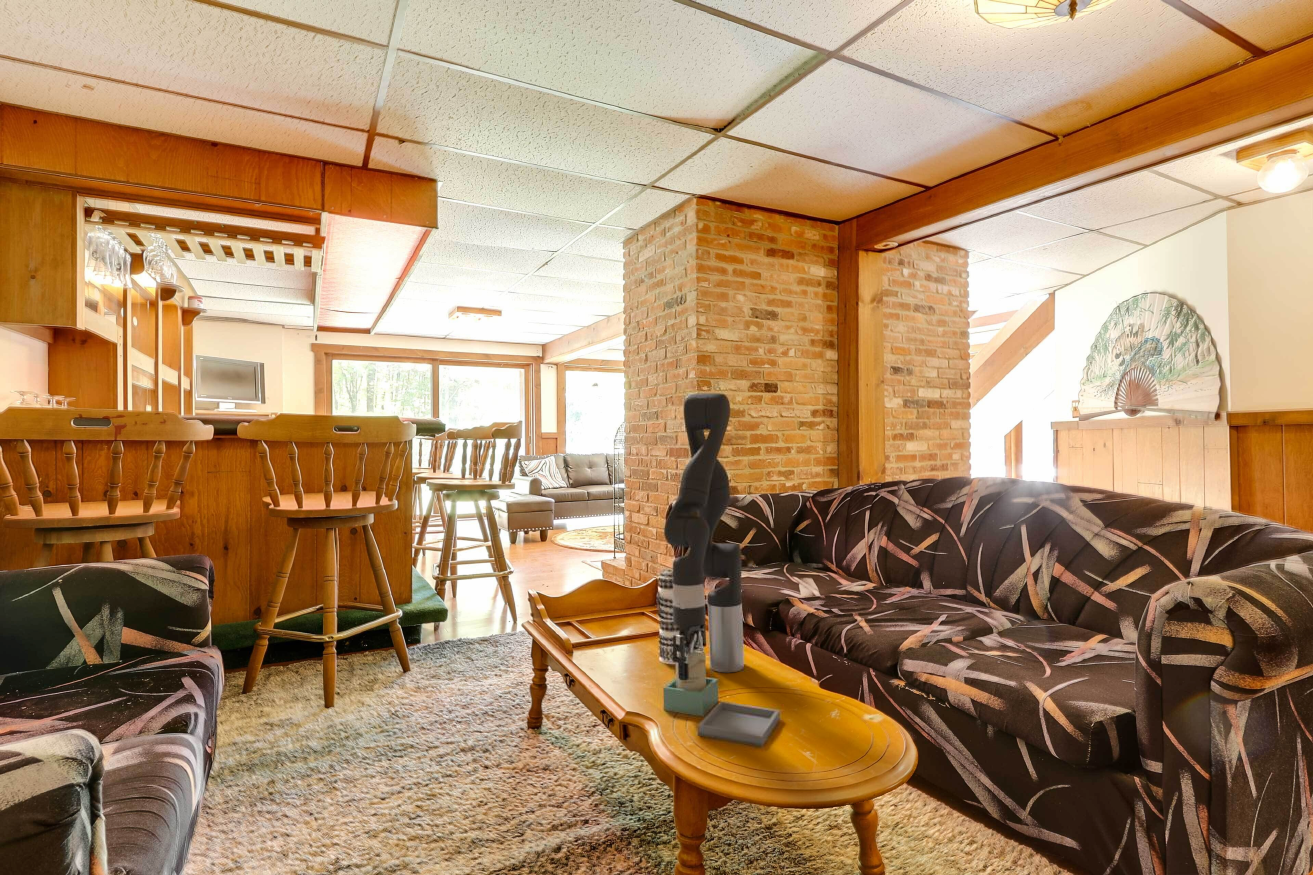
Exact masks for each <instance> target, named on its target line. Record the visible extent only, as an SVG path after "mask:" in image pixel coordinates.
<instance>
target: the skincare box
mask: <svg viewBox="0 0 1313 875" xmlns="http://www.w3.org/2000/svg"><path fill="white" fill-rule="evenodd" d="M677 654H678V652H677ZM685 655H686V654H685ZM706 667H707V665H706V653H705V652H704V650H703V651H702V650H701V649H693V651H692V654H690V655H689V660H688V669H689V679H688V680H686V681H685V680H680V679H679V675H678V663H677V662H676V664H675V678H676V688H678V689H685V690H692V691H698V692H701V691H702V690H703V689H704V688H705V687H706V677H707V672H706V671H707V668H706Z"/></svg>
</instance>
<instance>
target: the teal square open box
mask: <svg viewBox="0 0 1313 875" xmlns="http://www.w3.org/2000/svg"><path fill="white" fill-rule="evenodd" d="M662 692H663V711H668V712H675V713H680V714H686V715H691V716H692V715H693V716H698V717H704V716H706V715H707V713H709V712H710V710H711V709H713V707H715V706H716V705H717V704H718V703H719V679H718V678H714V677H707V676H706V687H705V688H704V689H703V690H702V691H701V692H698V691H692V690H685V689H678V688H676V677H675V678H673V679H671V681H669V682H668V683H667V684H666V685H665V686H664V687H663V690H662Z"/></svg>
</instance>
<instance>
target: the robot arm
mask: <svg viewBox="0 0 1313 875" xmlns="http://www.w3.org/2000/svg"><path fill="white" fill-rule="evenodd" d="M730 404H731V403H730V400H729V398H728V396H727V395H726V394H724V393H721V392H720V393H718V392H717V393H716V392H712V393H710V392H706V393H703V392H701V393H690V394H688V395H686V397H685V398H684V401H683V417H684V418H683V419H684V425H685V431H686V432H685V433H686V435H687V440H688V446H689V451H690V458H691V459H690V460H689V461H688V463H686V466H685V467H684V469H683V472H682V476H681V480H680V485H679V491H678V495H677V498H676V500H675V502H674V504H673V506H672V509H671V511H670V512H669V515H668V516H667V518H666V520H665V524H664V527H663V529H664V530H663V533H664V534H663V535H664V538H665V541H666V542H667V544H668V545H669V546H672V547H685V548H687V547H688V548H689V552H688V554H687V555H684V556H679V557H676V558H675V559H673V562H672V569H673V622H674V624H675V625H678V626H679V627H680V630H679V635H673V662H677V663H678V675H679V679H680V680H685V681H686V680H688V679H689V669H688V660H689V655H690V654H692V651H693V649H701V650H702V651H703V652H704V648H705V647H706V646H707V633H706V632H707V631H706V620H708V621H707V622H708V623H707V624H708V649H709V652H708V653H709V655H708V656H709V657H708V658H709V668H710V669H711V670H712V671H715V672H717V673H718V672H719V673H735V672H740V671H742V670H743V669H744V668H745V663H744V662H745V660H744V659H745V658H744V656H745V654H744V652H745V651H744V629H743V627H744V626H743V625H744V624H743V600H742V599H743V598H742V567H743V566H742V556H743V555H742V550H741V547H740V546H739V545H738V544H737V543H721V542H719V543H714V542H713V536H714V533H715V530H716V528H717V526H718V524H719V523H720V520H721V518H722V517H723V515H724V514H725V512H726V510H727V508H728V506H729V504H730V502H731V490H730V481H729V480H730V479H729V478H730V477H729V475H728V473H727V470H726V469H725V467H724V465H723V464H722V463H721V461H720V460H719V458H718V456H719V454H720V450H721V447H722V444H723V442H724V438H725V436H726V432H727V428H728V425H729V422H730V417H731V406H730ZM707 430H708V432H709V433H708V434H707V437H706V435H705V431H707ZM694 512H697V516H691V514H692V513H694ZM704 577H706V578H713V579H728V581H727V583H726V584H725V585H723V586H720V587H718V588H715V589H713V590H710V591H709V592H708V593H707V616H708V617H707V618H708V619H706V593H705V587H704V586H705V585H704ZM685 648H686V649H685ZM677 652H678V654H677ZM685 654H686V655H685Z"/></svg>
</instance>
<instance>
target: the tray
mask: <svg viewBox="0 0 1313 875" xmlns="http://www.w3.org/2000/svg"><path fill="white" fill-rule="evenodd" d="M780 720H781V710H779V709H774V708H766V707H759V706H754V705H747V704H741V703H736V702H735V703H734V702H727V701H721V700H720V701H718V702H717V703H716V704H715V706H714V708H712V710H711V711H709V712H708V714H706V715H705V717H703V719H702V720H701V721H700V723H698V724H697V736H700V737H705V738H710V739H716V740H721V741H725V742H726V741H728V742H731V743H732V742H733V743H738V744H742V745H743V744H744V745H749V746H754V747H760V748H762V747H764V745H765V743H766V742H767V741H768V739H769V737H771V734H772V733H773V731H774V730H775V728H776V727H777V725H778V724H779V722H780ZM777 723H778V724H777Z"/></svg>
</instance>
